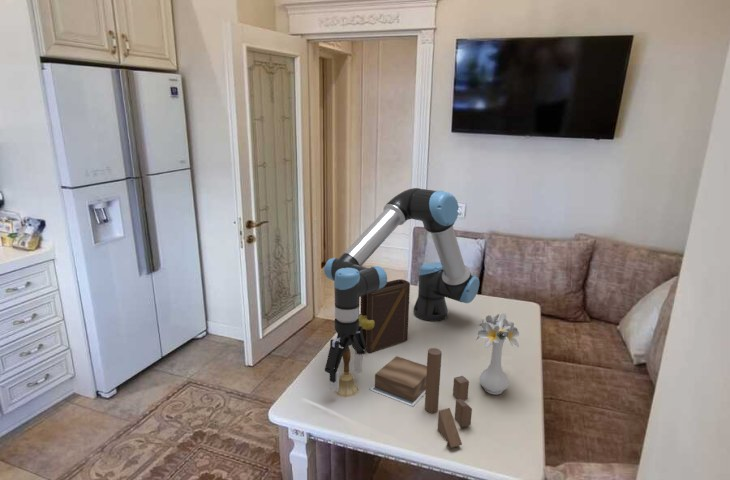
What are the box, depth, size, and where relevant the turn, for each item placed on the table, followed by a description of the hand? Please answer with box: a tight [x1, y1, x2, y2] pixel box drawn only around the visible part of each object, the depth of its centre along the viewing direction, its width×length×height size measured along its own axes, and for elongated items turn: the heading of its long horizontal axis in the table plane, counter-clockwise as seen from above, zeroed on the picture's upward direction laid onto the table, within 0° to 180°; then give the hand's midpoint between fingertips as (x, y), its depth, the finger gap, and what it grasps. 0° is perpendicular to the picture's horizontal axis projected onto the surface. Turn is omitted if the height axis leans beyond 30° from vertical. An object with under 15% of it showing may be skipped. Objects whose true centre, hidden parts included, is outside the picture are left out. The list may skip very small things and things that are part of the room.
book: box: [358, 278, 411, 355], centre depth 170 cm, size 22×8×25 cm, turn 123°
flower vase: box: [475, 312, 520, 396], centre depth 144 cm, size 13×18×25 cm
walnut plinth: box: [374, 355, 427, 402], centre depth 146 cm, size 14×14×5 cm
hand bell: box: [334, 347, 360, 398], centre depth 142 cm, size 8×8×16 cm
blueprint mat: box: [368, 384, 426, 408], centre depth 147 cm, size 18×16×1 cm
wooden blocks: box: [424, 347, 473, 449], centre depth 129 cm, size 17×20×20 cm
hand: (346, 380), depth 143 cm, fingers open, 12 cm apart
